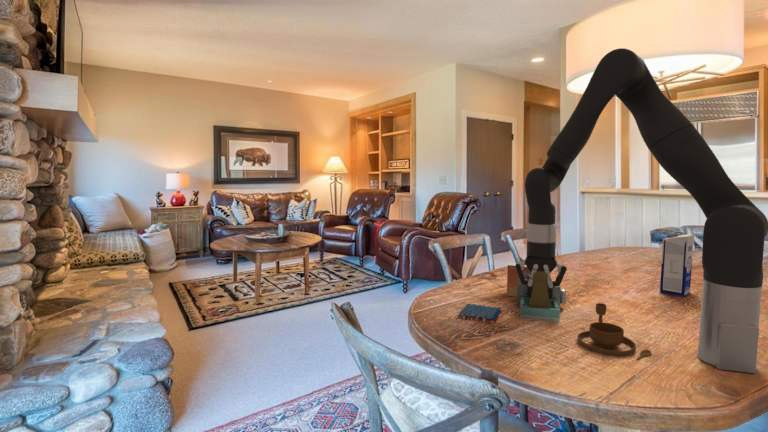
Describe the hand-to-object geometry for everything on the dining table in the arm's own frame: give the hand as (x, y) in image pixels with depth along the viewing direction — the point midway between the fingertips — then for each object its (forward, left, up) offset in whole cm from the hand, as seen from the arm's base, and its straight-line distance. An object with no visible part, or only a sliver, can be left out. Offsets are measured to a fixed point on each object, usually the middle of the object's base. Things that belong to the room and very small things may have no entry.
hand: (539, 298), depth 113 cm
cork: (0, 0, -3) cm, 3 cm away
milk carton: (+36, -44, -5) cm, 57 cm away
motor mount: (+3, -1, -5) cm, 6 cm away
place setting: (-14, -16, -5) cm, 22 cm away
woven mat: (-5, +16, -5) cm, 18 cm away
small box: (+18, +5, -5) cm, 19 cm away
